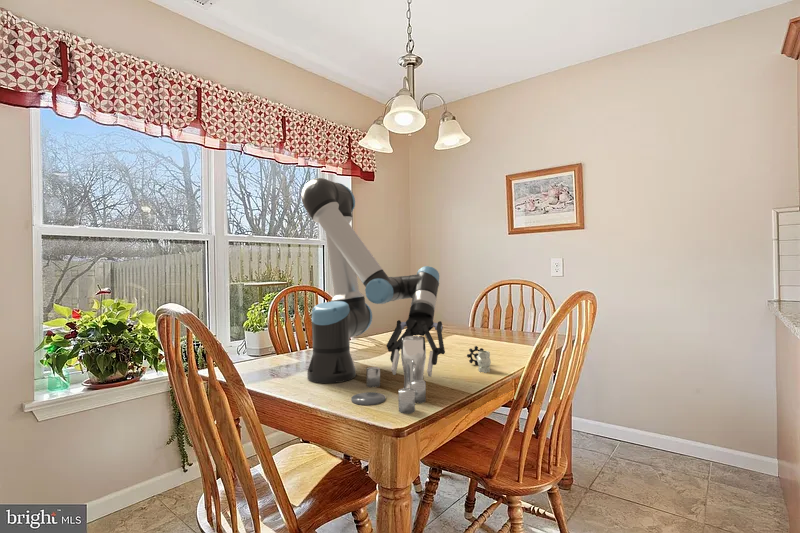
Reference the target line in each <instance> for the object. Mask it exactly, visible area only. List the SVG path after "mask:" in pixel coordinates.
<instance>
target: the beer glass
mask: <svg viewBox="0 0 800 533" xmlns="http://www.w3.org/2000/svg"><path fill="white" fill-rule="evenodd" d="M400 357H401V365H402V371H403V377H404V378H403V379H404V380H403V381H404V382H403V388H410V381H412V380H424V374H425V372H424V371H425V368H426V360H427V359H426V358H427V350H426V336H425V337H424V336H421V335H413V336H405V337H402V342H401V349H400Z"/></svg>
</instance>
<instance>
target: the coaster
mask: <svg viewBox="0 0 800 533" xmlns="http://www.w3.org/2000/svg"><path fill="white" fill-rule="evenodd" d="M350 400H351V403H353V404H354V405H355V404H356V405H359V406H374V405H379V404H382V403H384V402H385V401H386V395H385V394H384V393H380V392H376V391H375V392H374V391H373V392H372V391H371V392H369V391H367V392H360V393H359V392H358V393H356V394H353V395H352V396H351V399H350Z"/></svg>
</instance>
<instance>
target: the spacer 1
mask: <svg viewBox="0 0 800 533" xmlns="http://www.w3.org/2000/svg"><path fill="white" fill-rule="evenodd" d="M365 370H366V387H368V388H378V387H380V386H381V368H380V367H378V366H368V367H367V368H366V369H365Z"/></svg>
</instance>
